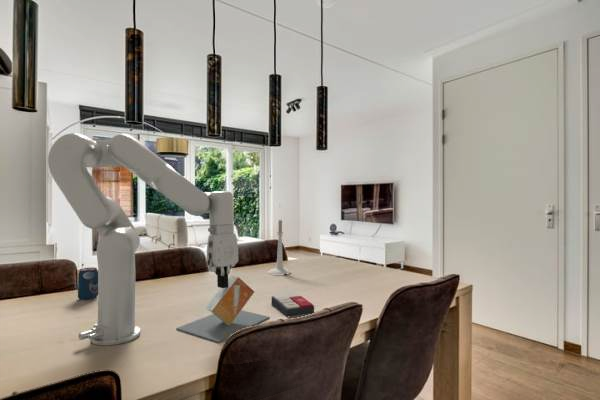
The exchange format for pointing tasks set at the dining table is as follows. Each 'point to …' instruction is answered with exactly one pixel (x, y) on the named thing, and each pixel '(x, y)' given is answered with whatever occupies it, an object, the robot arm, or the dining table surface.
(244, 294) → the small box
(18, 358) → the dining table surface
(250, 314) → the mat
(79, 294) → the soda can
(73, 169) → the robot arm
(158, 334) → the dining table surface
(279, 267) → the candlestick
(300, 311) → the flat red grey box
